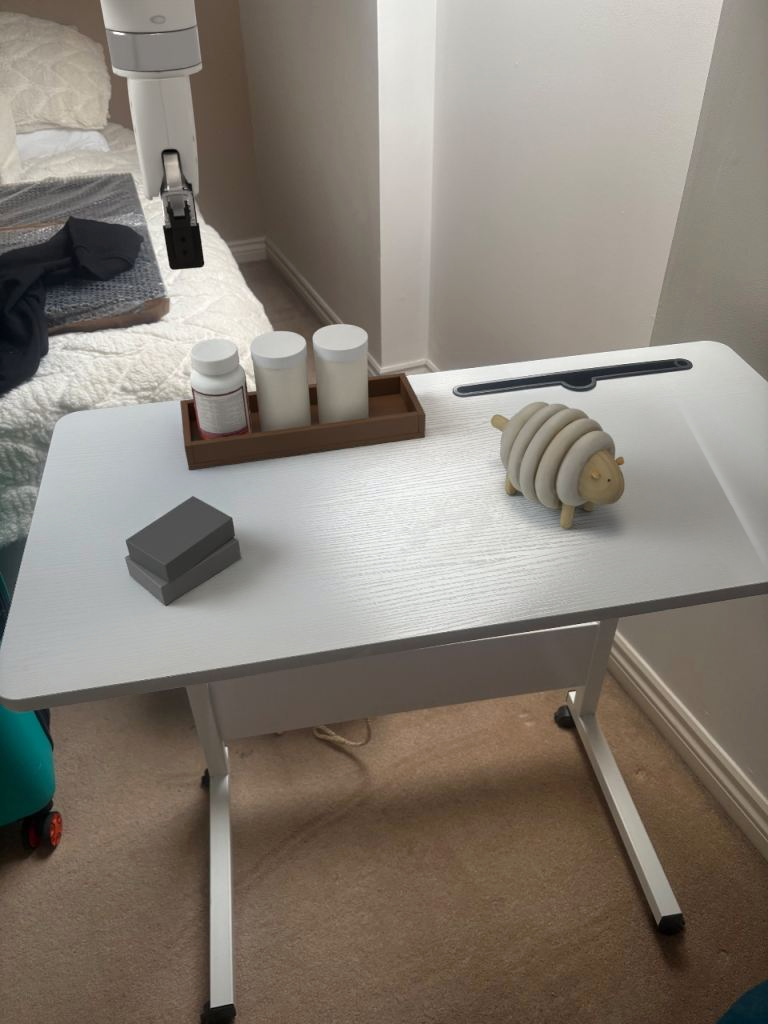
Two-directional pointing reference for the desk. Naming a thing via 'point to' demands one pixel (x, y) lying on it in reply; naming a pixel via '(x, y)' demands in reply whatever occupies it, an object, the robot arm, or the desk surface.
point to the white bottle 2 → (341, 373)
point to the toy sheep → (559, 459)
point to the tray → (312, 428)
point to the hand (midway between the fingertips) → (184, 248)
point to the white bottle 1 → (281, 380)
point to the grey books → (182, 549)
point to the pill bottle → (219, 390)
